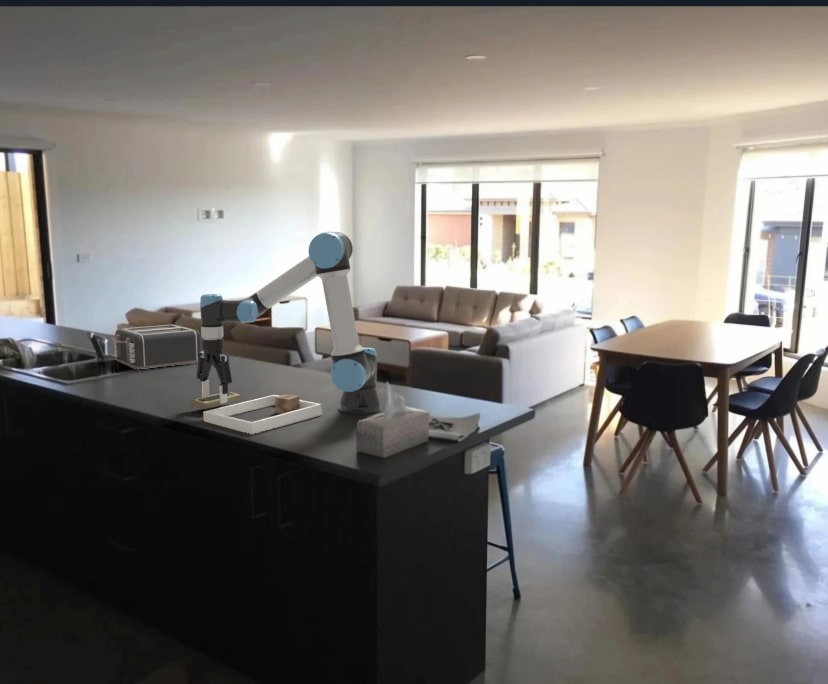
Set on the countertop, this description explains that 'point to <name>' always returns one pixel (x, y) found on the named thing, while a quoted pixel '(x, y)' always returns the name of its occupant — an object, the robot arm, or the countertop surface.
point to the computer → (214, 400)
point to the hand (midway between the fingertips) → (214, 400)
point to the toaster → (157, 346)
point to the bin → (223, 419)
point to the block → (286, 403)
